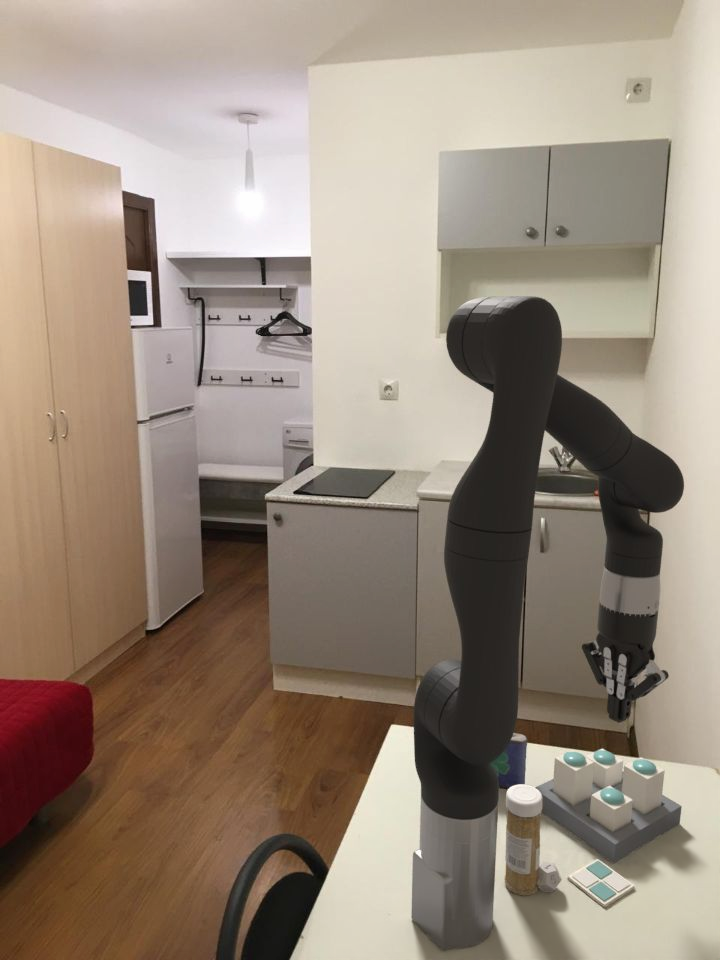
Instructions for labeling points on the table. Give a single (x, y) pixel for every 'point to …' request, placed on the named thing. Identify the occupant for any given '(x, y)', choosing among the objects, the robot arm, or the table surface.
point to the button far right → (643, 785)
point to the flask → (512, 763)
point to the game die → (548, 877)
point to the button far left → (606, 768)
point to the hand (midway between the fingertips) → (618, 719)
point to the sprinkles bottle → (523, 838)
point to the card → (601, 882)
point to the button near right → (611, 809)
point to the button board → (600, 837)
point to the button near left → (573, 777)
